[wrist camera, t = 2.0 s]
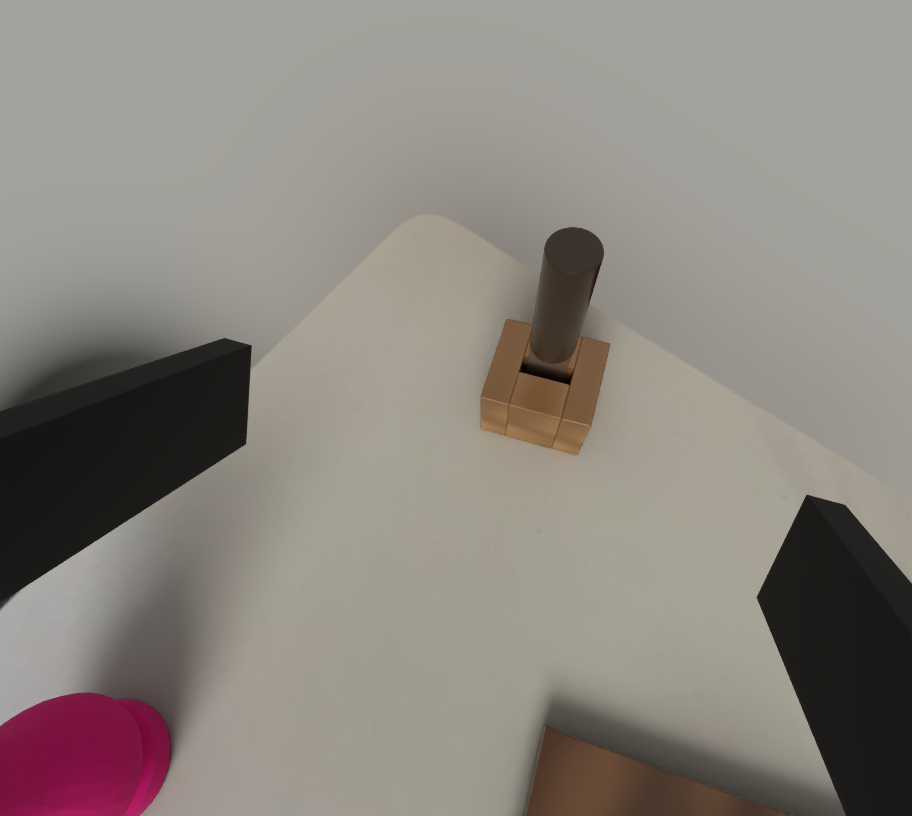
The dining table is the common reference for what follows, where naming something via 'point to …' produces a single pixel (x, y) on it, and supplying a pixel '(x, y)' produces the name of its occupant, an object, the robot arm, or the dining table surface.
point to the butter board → (620, 785)
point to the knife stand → (542, 393)
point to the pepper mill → (82, 757)
